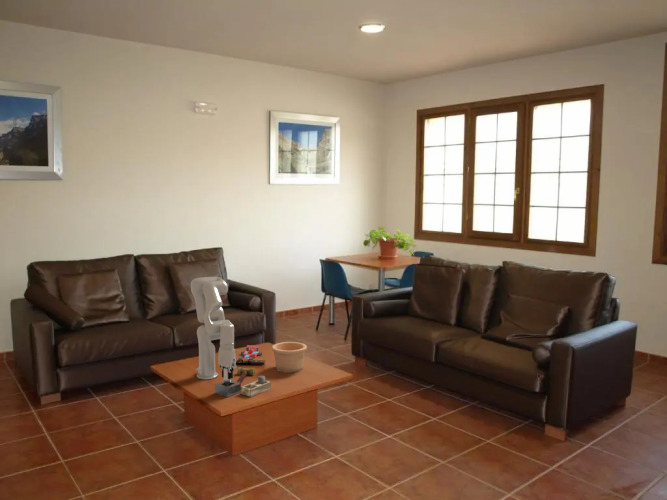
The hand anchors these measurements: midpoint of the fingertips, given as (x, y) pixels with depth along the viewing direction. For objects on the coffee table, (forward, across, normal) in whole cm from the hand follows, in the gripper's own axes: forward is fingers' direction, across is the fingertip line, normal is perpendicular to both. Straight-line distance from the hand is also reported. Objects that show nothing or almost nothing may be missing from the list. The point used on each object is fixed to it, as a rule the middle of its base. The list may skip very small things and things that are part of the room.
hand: (227, 377), depth 319 cm
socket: (+9, +1, 0) cm, 9 cm away
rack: (+8, +12, +11) cm, 18 cm away
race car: (+11, -35, +52) cm, 64 cm away
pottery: (+9, +1, +53) cm, 54 cm away
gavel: (+10, -9, +21) cm, 25 cm away
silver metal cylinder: (+6, 0, 0) cm, 6 cm away
